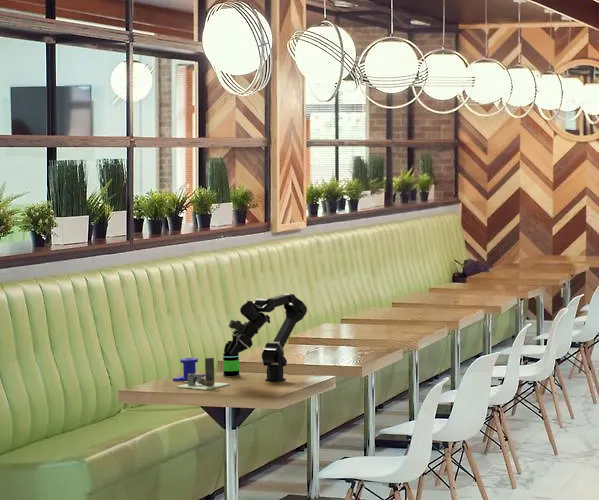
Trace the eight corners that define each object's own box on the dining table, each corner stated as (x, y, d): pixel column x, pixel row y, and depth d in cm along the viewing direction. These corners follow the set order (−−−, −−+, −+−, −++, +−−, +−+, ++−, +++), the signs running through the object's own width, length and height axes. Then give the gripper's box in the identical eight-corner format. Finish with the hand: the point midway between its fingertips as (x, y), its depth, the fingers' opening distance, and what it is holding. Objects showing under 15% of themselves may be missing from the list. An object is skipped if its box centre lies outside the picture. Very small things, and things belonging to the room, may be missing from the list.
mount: (191, 376, 535) (190, 356, 535) (206, 377, 532) (205, 357, 531) (172, 381, 522) (172, 361, 521) (187, 382, 518) (187, 361, 518)
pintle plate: (229, 385, 506) (229, 383, 506) (205, 390, 494) (205, 389, 494) (201, 382, 516) (201, 380, 516) (176, 387, 503) (176, 386, 503)
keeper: (189, 385, 508) (189, 373, 508) (204, 385, 507) (203, 373, 506) (187, 386, 505) (187, 374, 505) (202, 386, 504) (201, 374, 503)
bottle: (237, 376, 529) (236, 342, 528) (221, 376, 530) (220, 342, 530) (241, 374, 536) (240, 340, 535) (225, 374, 538) (224, 340, 537)
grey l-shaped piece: (195, 381, 513) (195, 355, 512) (205, 380, 514) (205, 354, 514) (206, 385, 500) (205, 358, 499) (216, 384, 501) (215, 358, 501)
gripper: (236, 309, 513) (211, 338, 512) (243, 315, 495) (217, 344, 493) (255, 327, 515) (231, 355, 514) (263, 333, 497) (237, 362, 495)
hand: (229, 353), depth 504 cm, fingers open, 9 cm apart
